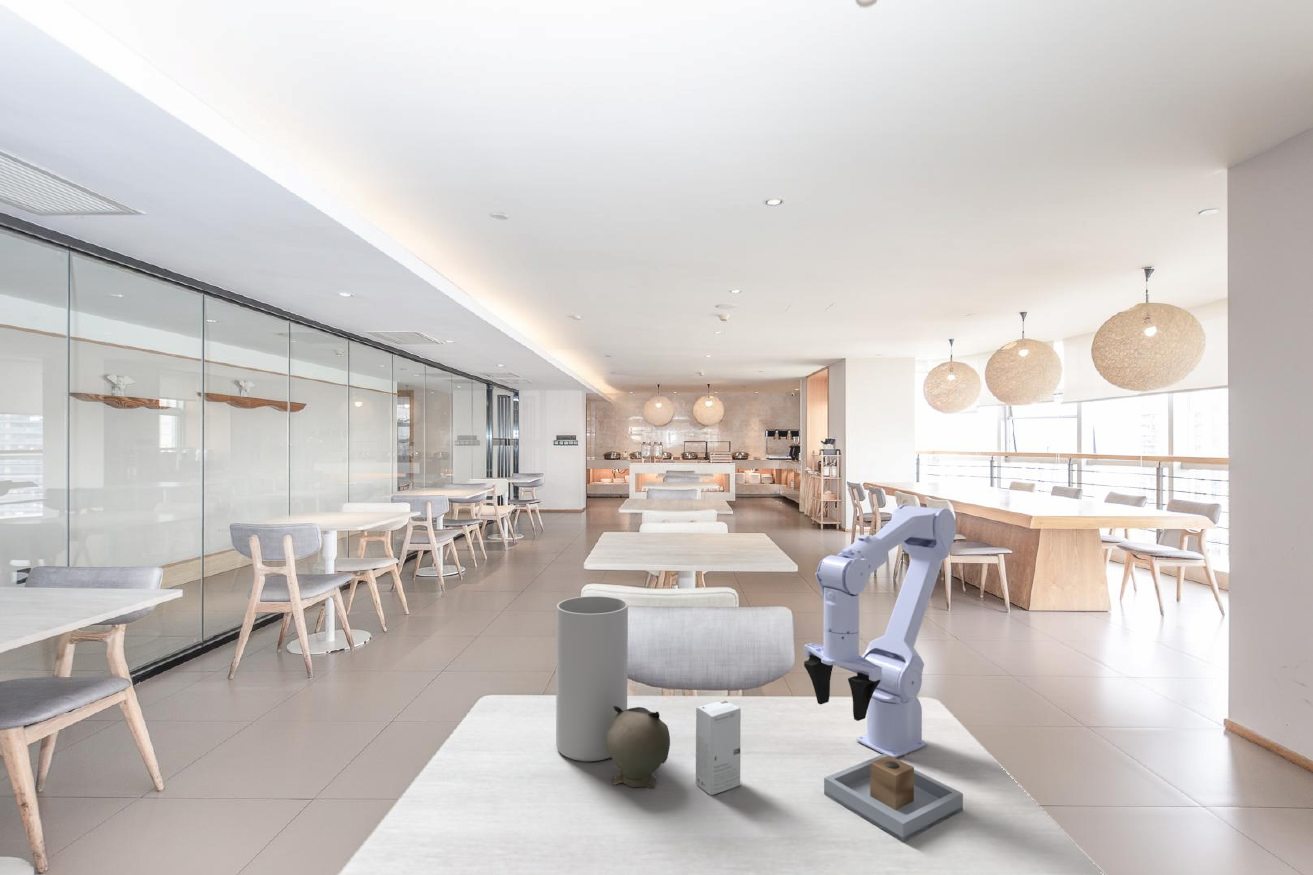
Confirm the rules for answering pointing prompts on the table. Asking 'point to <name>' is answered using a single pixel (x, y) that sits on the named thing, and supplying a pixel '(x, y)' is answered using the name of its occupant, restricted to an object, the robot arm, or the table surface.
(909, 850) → the table surface
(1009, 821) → the table surface
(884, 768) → the walnut block
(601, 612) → the cylinder vase
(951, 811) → the slate tray
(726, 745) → the skincare box
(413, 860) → the table surface
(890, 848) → the table surface
